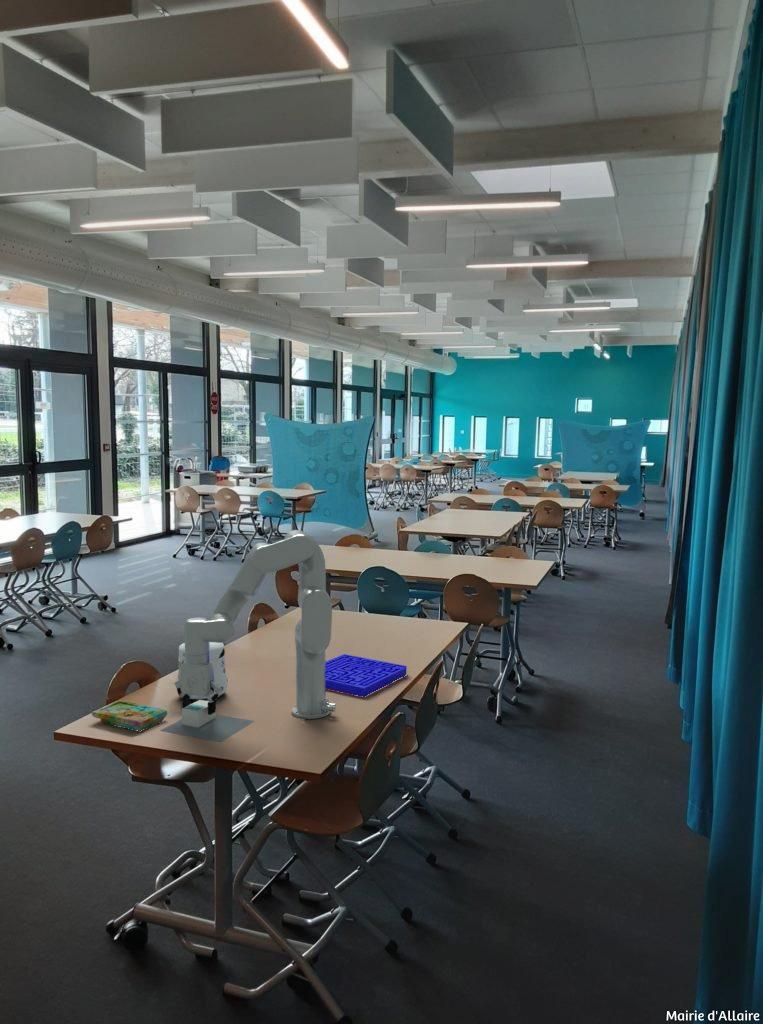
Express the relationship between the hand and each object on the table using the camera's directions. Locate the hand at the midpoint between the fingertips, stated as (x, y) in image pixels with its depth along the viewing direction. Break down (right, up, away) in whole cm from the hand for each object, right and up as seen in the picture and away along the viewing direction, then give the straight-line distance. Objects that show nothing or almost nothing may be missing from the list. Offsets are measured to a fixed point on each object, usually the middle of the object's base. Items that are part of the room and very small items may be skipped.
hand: (198, 711), depth 235 cm
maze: (+47, -1, +44) cm, 65 cm away
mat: (+4, -4, -3) cm, 7 cm away
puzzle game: (-22, -4, +1) cm, 22 cm away
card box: (0, -3, 0) cm, 3 cm away
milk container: (-5, -2, +25) cm, 26 cm away
